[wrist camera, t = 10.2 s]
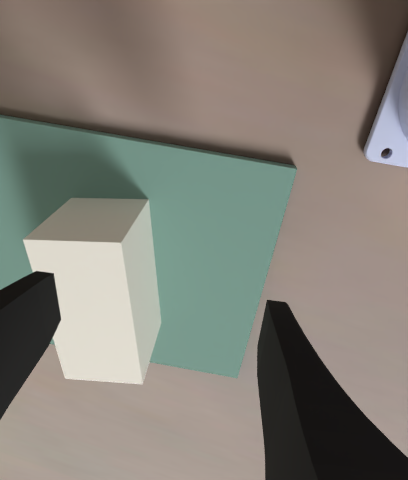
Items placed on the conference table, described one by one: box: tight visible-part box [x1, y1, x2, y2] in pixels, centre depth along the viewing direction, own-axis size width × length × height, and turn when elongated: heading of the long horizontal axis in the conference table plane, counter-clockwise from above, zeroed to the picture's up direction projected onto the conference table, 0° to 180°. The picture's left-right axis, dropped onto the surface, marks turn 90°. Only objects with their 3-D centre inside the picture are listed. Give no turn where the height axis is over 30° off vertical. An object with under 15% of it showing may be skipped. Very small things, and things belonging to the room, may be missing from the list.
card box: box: [23, 198, 161, 384], centre depth 20 cm, size 9×4×5 cm, turn 1°
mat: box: [0, 115, 297, 378], centre depth 22 cm, size 18×16×1 cm
